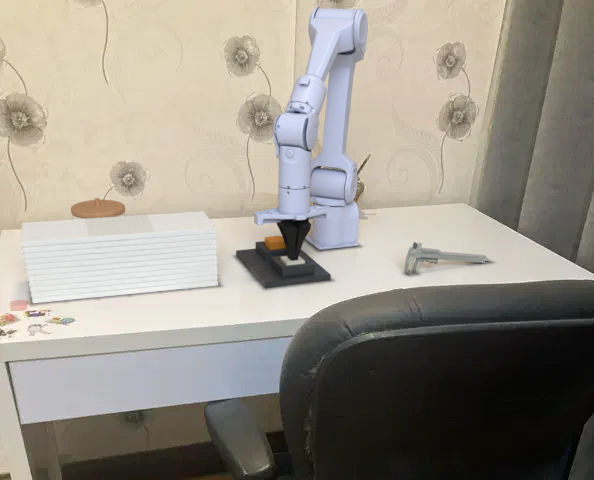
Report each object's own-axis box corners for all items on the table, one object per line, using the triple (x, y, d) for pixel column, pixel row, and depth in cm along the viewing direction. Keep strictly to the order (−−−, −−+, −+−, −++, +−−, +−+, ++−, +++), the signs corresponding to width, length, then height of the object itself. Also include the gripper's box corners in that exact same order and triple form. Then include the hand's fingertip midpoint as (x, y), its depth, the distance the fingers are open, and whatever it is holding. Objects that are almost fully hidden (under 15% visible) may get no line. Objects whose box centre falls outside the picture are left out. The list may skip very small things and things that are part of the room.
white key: (297, 263, 127) (298, 254, 126) (304, 269, 124) (305, 260, 123) (280, 265, 126) (280, 256, 125) (287, 271, 123) (287, 262, 122)
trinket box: (65, 247, 136) (57, 201, 132) (97, 232, 145) (91, 189, 140) (108, 254, 133) (102, 208, 128) (138, 239, 142) (134, 195, 137)
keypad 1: (295, 249, 139) (295, 235, 137) (311, 264, 132) (312, 249, 130) (236, 256, 135) (235, 241, 133) (249, 271, 127) (249, 256, 126)
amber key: (281, 243, 134) (281, 235, 133) (287, 249, 131) (287, 241, 130) (264, 245, 133) (264, 237, 132) (270, 251, 130) (270, 242, 129)
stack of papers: (32, 303, 112) (20, 241, 106) (33, 280, 120) (22, 222, 115) (218, 285, 121) (215, 227, 115) (206, 265, 129) (203, 210, 124)
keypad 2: (312, 264, 132) (312, 250, 130) (330, 280, 124) (331, 265, 123) (250, 271, 127) (250, 256, 126) (265, 288, 120) (265, 272, 119)
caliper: (407, 275, 128) (410, 244, 125) (404, 273, 129) (407, 242, 125) (490, 262, 136) (495, 232, 132) (486, 260, 136) (492, 230, 133)
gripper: (263, 194, 112) (263, 270, 119) (340, 188, 116) (336, 261, 124) (250, 184, 117) (251, 257, 124) (324, 178, 122) (321, 249, 129)
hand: (292, 258), depth 124 cm, fingers closed, pressing on white key
